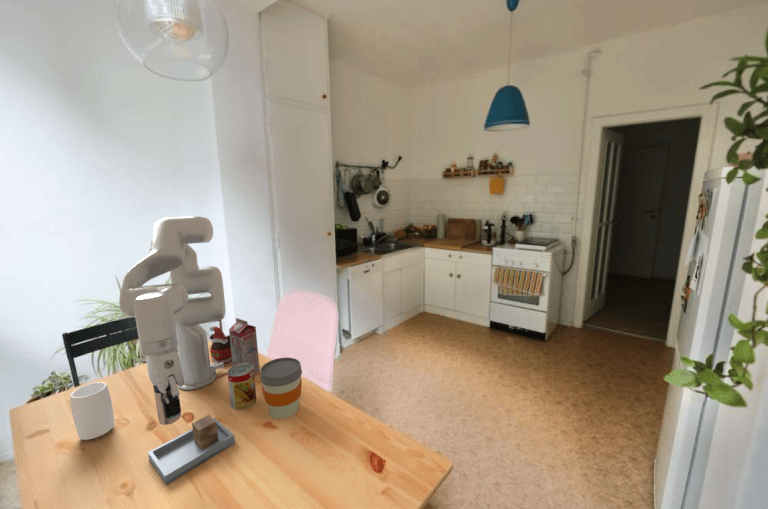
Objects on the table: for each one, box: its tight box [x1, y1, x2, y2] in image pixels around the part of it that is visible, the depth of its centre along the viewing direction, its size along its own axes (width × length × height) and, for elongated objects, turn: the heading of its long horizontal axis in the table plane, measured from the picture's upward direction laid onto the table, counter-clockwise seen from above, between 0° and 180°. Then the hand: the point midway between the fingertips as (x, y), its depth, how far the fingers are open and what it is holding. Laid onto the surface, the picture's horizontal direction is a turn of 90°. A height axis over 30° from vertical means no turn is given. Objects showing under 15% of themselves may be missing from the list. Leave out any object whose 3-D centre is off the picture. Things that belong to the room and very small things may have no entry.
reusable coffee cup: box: [259, 357, 303, 420], centre depth 105 cm, size 12×13×15 cm
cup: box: [69, 381, 115, 441], centre depth 95 cm, size 8×8×14 cm
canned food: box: [226, 363, 257, 411], centre depth 109 cm, size 8×8×12 cm
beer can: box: [152, 383, 182, 426], centre depth 83 cm, size 5×5×12 cm
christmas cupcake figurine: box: [209, 320, 232, 364], centre depth 137 cm, size 11×9×18 cm
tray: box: [147, 417, 236, 486], centre depth 89 cm, size 17×12×2 cm
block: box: [191, 414, 218, 450], centre depth 91 cm, size 4×4×6 cm
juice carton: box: [228, 317, 261, 376], centre depth 126 cm, size 7×7×22 cm
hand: (169, 409), depth 83 cm, fingers closed on beer can, 4 cm apart
